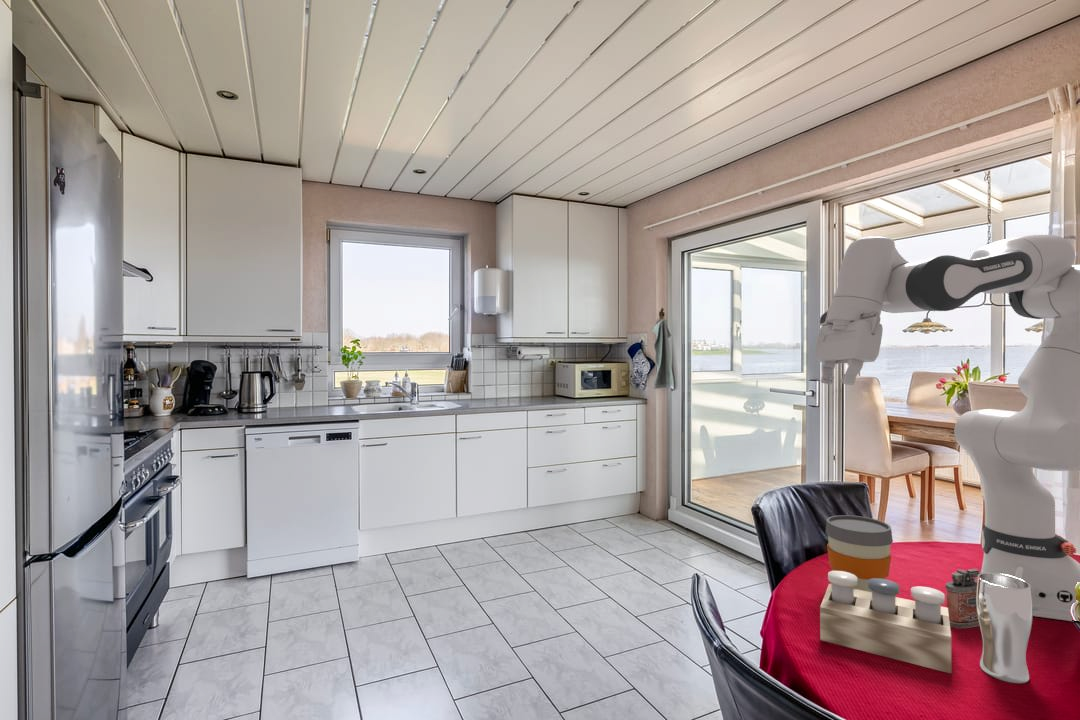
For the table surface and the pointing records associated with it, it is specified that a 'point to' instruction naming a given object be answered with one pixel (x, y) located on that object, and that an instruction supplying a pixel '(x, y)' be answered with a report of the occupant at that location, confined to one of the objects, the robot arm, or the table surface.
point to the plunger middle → (883, 595)
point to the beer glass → (1004, 625)
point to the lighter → (962, 599)
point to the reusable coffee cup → (859, 547)
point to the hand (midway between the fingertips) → (836, 384)
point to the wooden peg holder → (887, 630)
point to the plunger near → (928, 604)
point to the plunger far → (842, 586)
